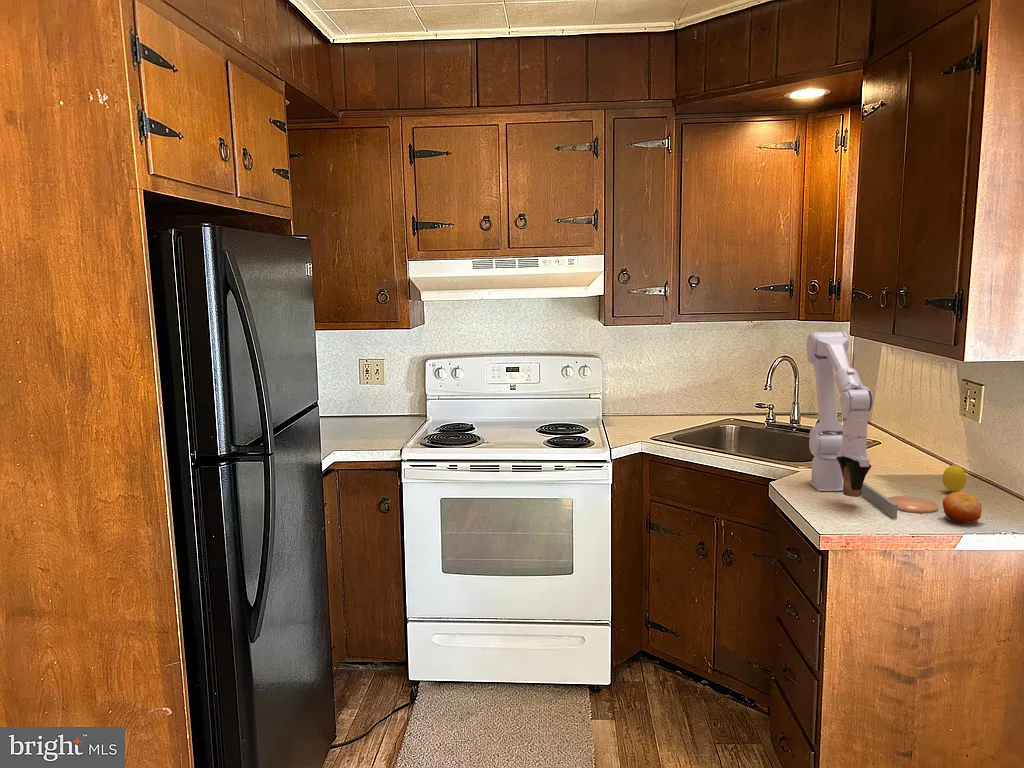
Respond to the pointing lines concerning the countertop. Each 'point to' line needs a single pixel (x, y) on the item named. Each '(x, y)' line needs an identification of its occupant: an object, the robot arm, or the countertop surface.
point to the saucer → (914, 504)
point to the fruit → (962, 507)
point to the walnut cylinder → (849, 485)
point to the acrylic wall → (879, 500)
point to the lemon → (954, 478)
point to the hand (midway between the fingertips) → (852, 486)
